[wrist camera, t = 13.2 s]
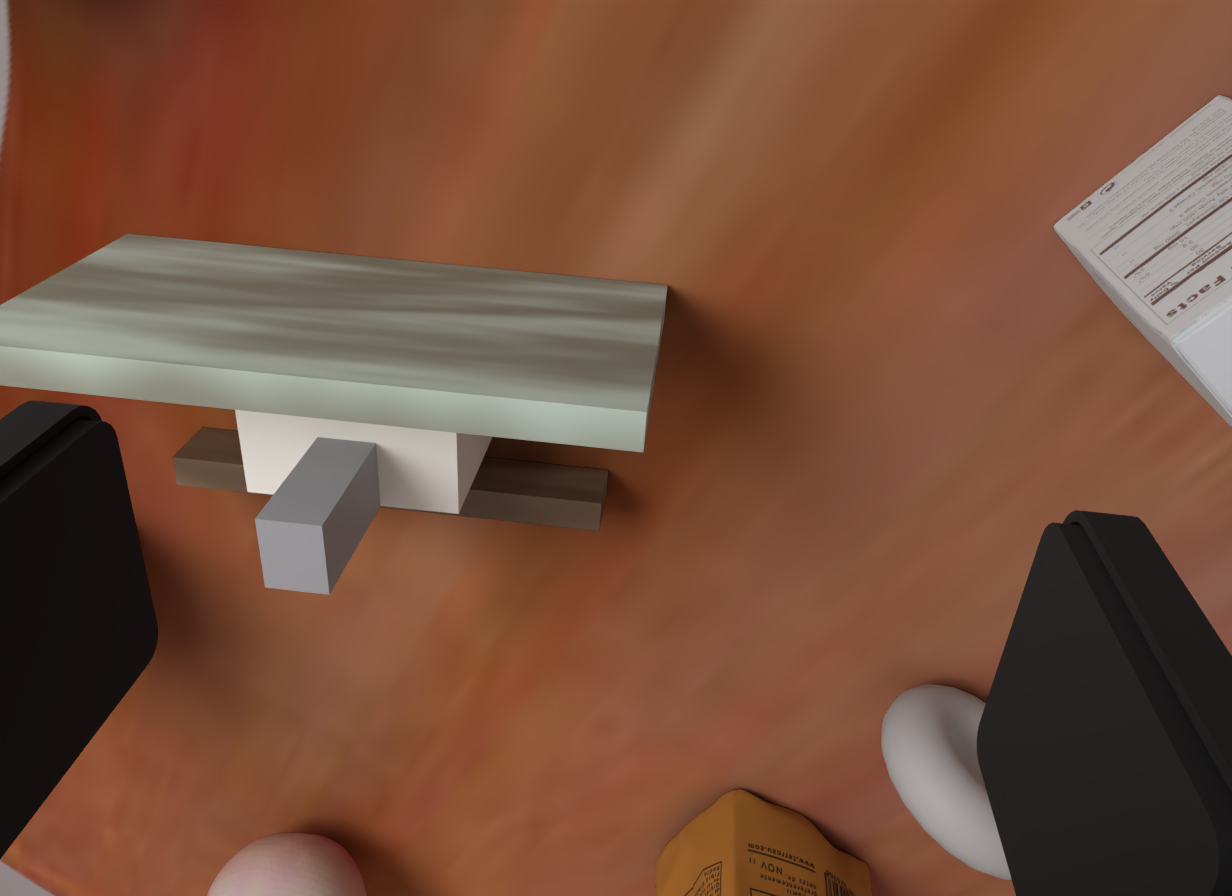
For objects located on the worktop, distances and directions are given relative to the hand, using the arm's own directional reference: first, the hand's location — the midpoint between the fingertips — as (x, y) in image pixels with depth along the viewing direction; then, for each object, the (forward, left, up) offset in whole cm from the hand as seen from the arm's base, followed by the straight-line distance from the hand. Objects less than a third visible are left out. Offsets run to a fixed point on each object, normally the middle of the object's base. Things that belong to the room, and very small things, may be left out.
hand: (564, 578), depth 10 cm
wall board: (+14, -12, -32) cm, 37 cm away
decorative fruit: (+47, -19, -32) cm, 60 cm away
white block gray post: (+14, -12, -32) cm, 37 cm away
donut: (+30, +17, -32) cm, 47 cm away
